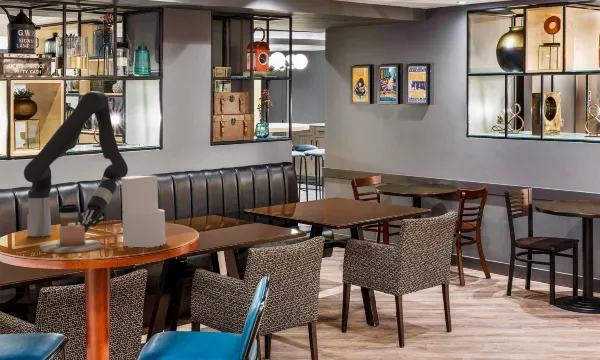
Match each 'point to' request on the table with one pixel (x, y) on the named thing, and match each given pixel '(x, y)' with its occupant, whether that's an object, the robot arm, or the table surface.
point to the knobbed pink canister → (72, 235)
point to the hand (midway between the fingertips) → (81, 233)
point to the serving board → (70, 247)
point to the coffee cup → (68, 214)
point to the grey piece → (142, 212)
